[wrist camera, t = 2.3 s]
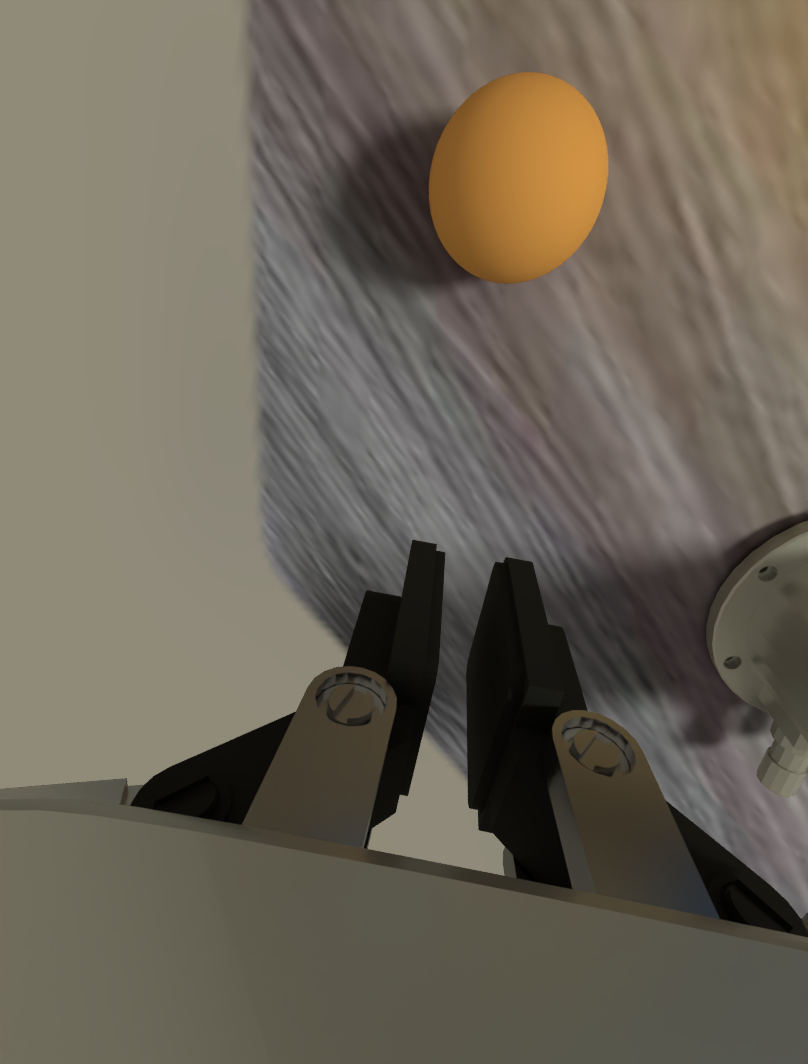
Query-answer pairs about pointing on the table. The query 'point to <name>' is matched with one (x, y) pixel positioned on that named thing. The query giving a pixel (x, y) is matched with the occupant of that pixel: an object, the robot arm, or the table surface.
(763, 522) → the table surface
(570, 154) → the ball
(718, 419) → the table surface
